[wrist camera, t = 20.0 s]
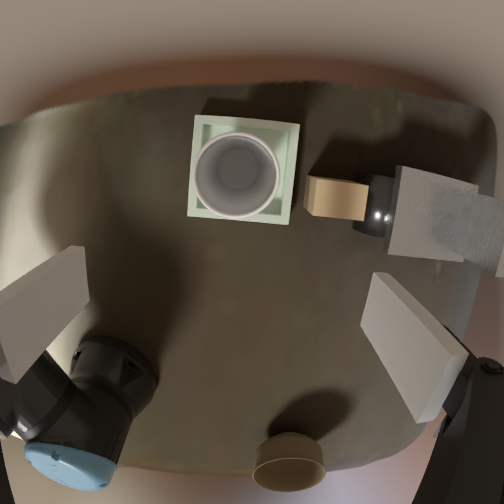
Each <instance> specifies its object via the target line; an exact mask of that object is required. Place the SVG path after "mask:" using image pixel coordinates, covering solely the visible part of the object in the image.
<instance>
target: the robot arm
mask: <svg viewBox="0 0 504 504" xmlns="http://www.w3.org/2000/svg"><path fill="white" fill-rule="evenodd" d="M89 301H90V299H89V291H88V282H87V272H86V260H85V247H82V246H72V245H71V246H69V247H68V248H66V249H64V250H63V251H61V252H60V253H58V254H56V255H55V256H53V257H51V258H50V259H48V260H47V261H45V262H43V263H42V264H40V265H39V266H37V267H36V268H34V269H33V270H31V271H29V272H28V273H26V274H25V275H23V276H22V277H20V278H19V279H17V280H16V281H14V282H13V283H11V284H10V285H9V286H7V287H6V288H4V289H3V290H1V291H0V439H7V437H8V436H9V435H10V434H11V433H12V432H13V431H15V432H16V433H17V434H18V435H19V436H20V437H21V438H22V439H23V440H24V441H25V442H26V443H27V444H26V445H25V446H24V456H25V458H26V459H27V460H28V461H29V463H30V464H31V465H32V466H33V467H34V468H36V469H37V470H38V471H39V472H41V473H42V474H44V475H46V476H47V477H49V478H50V479H52V480H54V481H56V482H58V483H60V484H63V485H65V486H68V487H71V488H74V489H78V490H83V491H92V492H93V491H100V490H103V489H104V488H106V487H107V486H108V485H109V483H110V481H111V478H112V476H113V474H114V472H115V471H116V469H117V463H118V460H119V457H120V454H121V451H122V449H123V446H124V443H125V440H126V437H127V434H128V432H129V429H130V426H131V423H132V421H133V419H134V418H135V417H136V416H137V415H138V414H139V413H140V412H141V411H142V410H143V409H144V408H145V407H146V406H147V405H148V404H149V403H150V401H151V400H152V398H153V395H154V392H155V389H156V377H155V374H154V371H153V369H152V367H151V366H150V364H149V363H148V361H147V360H146V359H145V358H144V357H143V356H142V355H141V354H140V353H139V352H138V351H137V350H136V349H134V348H133V347H131V346H130V345H128V344H126V343H124V342H122V341H120V340H117V339H114V338H111V337H105V336H96V337H91V338H88V339H86V340H85V341H83V342H82V343H81V344H80V346H79V347H78V348H77V350H76V351H75V353H74V355H73V357H72V361H71V366H70V371H69V376H68V375H67V374H66V373H65V372H64V371H63V370H62V369H61V367H60V366H59V365H58V364H57V363H56V361H55V360H54V359H53V358H52V357H51V355H50V354H49V353H48V352H47V350H46V348H47V347H48V346H49V345H50V344H51V343H52V341H53V340H54V339H55V338H56V337H57V336H58V335H59V334H60V332H61V331H62V330H63V329H64V328H65V327H66V326H67V325H68V324H69V323H70V322H71V320H72V319H73V318H74V317H75V316H76V315H77V314H78V313H79V312H80V311H81V310H82V309H83V308H84V307H85V305H86V304H87V303H88V302H89ZM360 326H361V327H362V329H363V331H364V332H365V334H366V336H367V337H368V339H369V341H370V342H371V344H372V346H373V347H374V349H375V351H376V352H377V354H378V356H379V358H380V359H381V361H382V363H383V364H384V366H385V368H386V370H387V371H388V373H389V375H390V377H391V378H392V380H393V382H394V384H395V385H396V387H397V389H398V391H399V392H400V394H401V396H402V398H403V400H404V401H405V403H406V405H407V407H408V409H409V410H410V412H411V414H412V416H413V418H414V420H415V421H416V423H422V422H427V421H432V420H435V418H436V417H437V415H438V413H439V411H440V410H441V408H442V407H443V408H444V410H445V411H446V413H447V415H446V416H445V418H444V420H443V421H442V423H441V424H440V426H439V428H438V429H437V431H436V432H435V434H434V435H433V437H434V438H435V437H436V436H437V434H438V437H437V440H436V443H435V446H434V449H433V452H432V455H431V457H430V460H429V463H428V466H427V468H426V471H425V473H424V476H423V479H422V481H421V483H420V486H419V488H418V490H417V493H416V495H415V498H414V500H413V502H412V504H504V367H503V366H502V365H501V364H499V363H498V362H497V361H495V360H493V359H490V358H486V357H482V358H481V357H480V358H478V359H477V358H476V357H475V356H474V355H473V354H472V352H471V351H470V350H469V349H468V348H467V347H466V346H465V345H464V344H463V343H462V342H460V340H459V339H458V338H457V337H456V336H455V335H454V334H453V333H452V332H451V331H450V330H449V329H448V328H447V327H446V326H444V325H442V324H441V323H439V322H438V321H437V320H436V319H435V318H434V317H433V316H432V315H431V314H430V313H429V312H428V311H427V310H426V309H425V308H424V307H423V306H422V305H421V304H420V303H419V302H418V301H417V300H416V299H415V298H414V297H413V296H412V295H411V294H410V293H409V292H408V291H407V290H406V289H405V288H403V287H402V286H401V285H400V284H399V283H398V282H397V281H396V280H395V279H394V278H393V277H392V276H391V275H390V274H388V273H380V272H373V277H372V281H371V285H370V289H369V293H368V298H367V301H366V305H365V309H364V313H363V317H362V321H361V324H360ZM0 504H15V502H14V498H13V495H12V491H11V488H10V484H9V480H8V476H7V472H6V467H5V463H4V458H3V453H2V447H1V442H0Z"/></svg>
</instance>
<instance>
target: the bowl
mask: <svg viewBox="0 0 504 504" xmlns="http://www.w3.org/2000/svg"><path fill="white" fill-rule="evenodd" d="M325 474H326V470H325V468H324V464H323V454H322V449H321V447H320V445H319V444H318V443H317V442H316V441H314V440H313V439H312V438H310V437H308V436H306V435H303V434H298V433H296V432H283V433H281V434H279V435H276V436H273V437H271V438H269V439H267V440H266V441H265V442H263V443H262V444H261V445H260V446H259V448H258V449H257V451H256V455H255V468H254V471H253V474H252V477H253V480H254V481H255V482H256V483H257V484H258V485H259V486H261V487H263V488H265V489H268V490H272V491H279V492H293V491H300V490H304V489H308V488H310V487H313V486H315V485H317V484H318V483H320V482H321V481H322V479H323V478H324V477H325Z"/></svg>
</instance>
